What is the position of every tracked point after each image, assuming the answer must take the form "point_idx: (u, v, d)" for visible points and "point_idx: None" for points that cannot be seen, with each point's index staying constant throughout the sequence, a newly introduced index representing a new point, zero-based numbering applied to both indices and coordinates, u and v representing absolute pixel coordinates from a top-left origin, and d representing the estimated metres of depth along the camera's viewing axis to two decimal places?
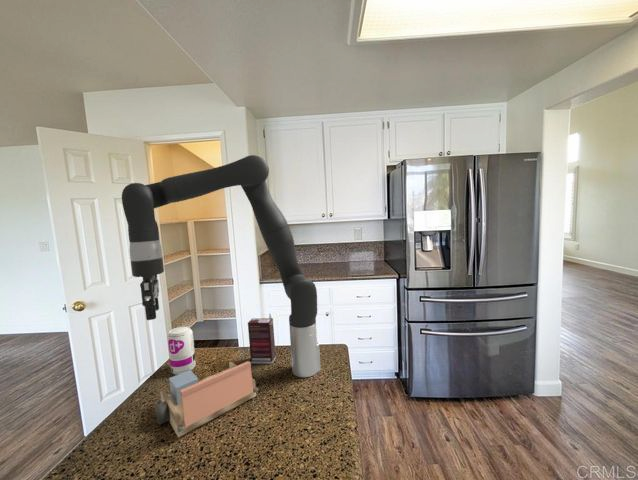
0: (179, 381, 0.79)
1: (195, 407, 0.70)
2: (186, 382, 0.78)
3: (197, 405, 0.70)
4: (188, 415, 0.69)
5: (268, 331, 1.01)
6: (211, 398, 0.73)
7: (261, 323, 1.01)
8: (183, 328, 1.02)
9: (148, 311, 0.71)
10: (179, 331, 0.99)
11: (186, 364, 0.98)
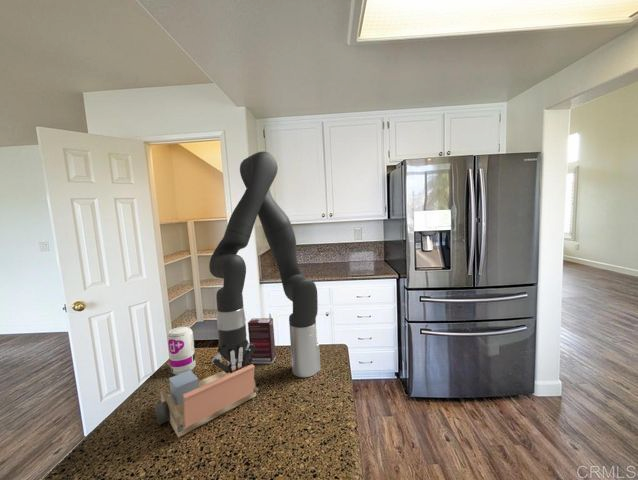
0: (179, 381, 0.79)
1: (196, 410, 0.69)
2: (186, 382, 0.78)
3: (198, 408, 0.70)
4: (189, 417, 0.69)
5: (268, 331, 1.01)
6: (213, 401, 0.72)
7: (261, 323, 1.01)
8: (183, 328, 1.02)
9: None
10: (179, 331, 0.99)
11: (186, 364, 0.98)
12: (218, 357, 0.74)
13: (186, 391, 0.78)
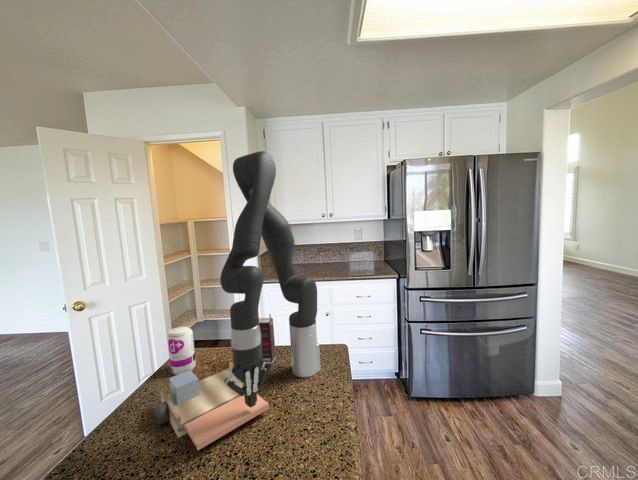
0: (179, 381, 0.79)
1: None
2: (186, 382, 0.78)
3: None
4: None
5: (268, 331, 1.01)
6: None
7: (261, 323, 1.01)
8: (183, 328, 1.02)
9: None
10: (179, 331, 0.99)
11: (186, 364, 0.98)
12: (232, 379, 0.68)
13: (186, 391, 0.78)
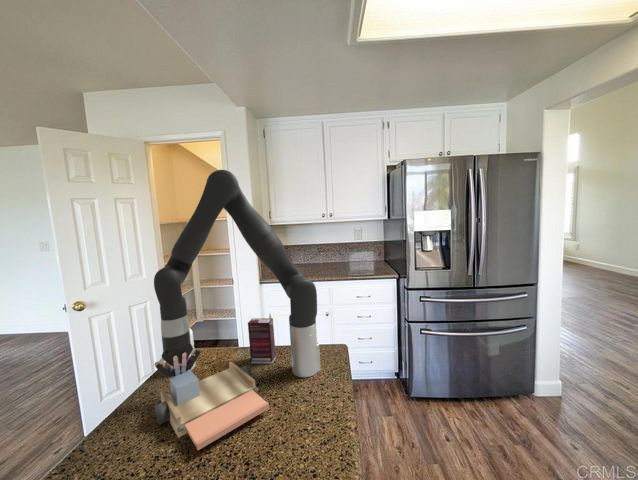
0: (180, 381, 0.79)
1: None
2: (186, 383, 0.78)
3: None
4: None
5: (268, 331, 1.01)
6: None
7: (261, 323, 1.01)
8: None
9: None
10: None
11: None
12: (161, 362, 0.80)
13: (186, 392, 0.78)
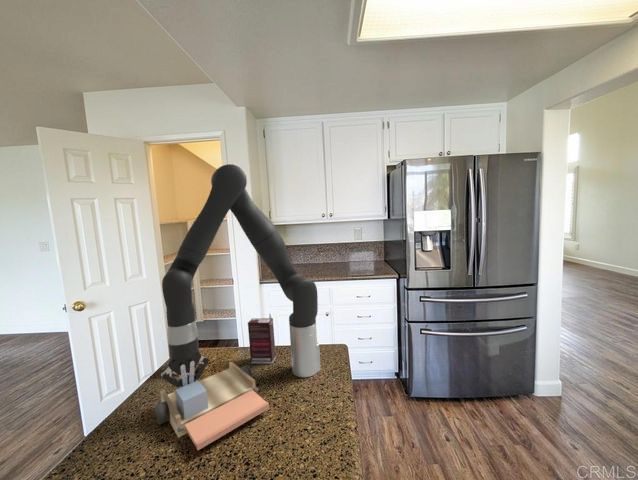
0: (187, 393, 0.73)
1: None
2: (194, 395, 0.72)
3: None
4: None
5: (268, 331, 1.01)
6: None
7: (261, 323, 1.01)
8: None
9: None
10: None
11: None
12: (168, 371, 0.74)
13: (194, 404, 0.72)
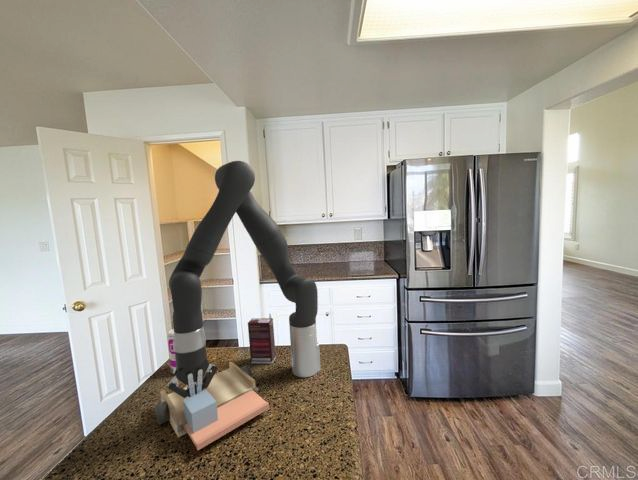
0: (195, 404, 0.69)
1: None
2: (203, 406, 0.68)
3: None
4: None
5: (268, 331, 1.01)
6: None
7: (261, 323, 1.01)
8: None
9: None
10: None
11: None
12: (174, 381, 0.70)
13: (203, 417, 0.67)
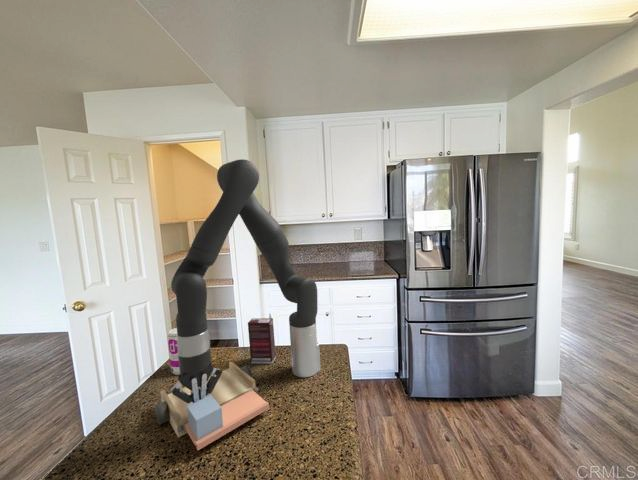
0: (199, 410, 0.66)
1: None
2: (208, 412, 0.66)
3: None
4: None
5: (268, 331, 1.01)
6: None
7: (261, 323, 1.01)
8: None
9: None
10: None
11: None
12: (178, 386, 0.67)
13: (208, 423, 0.65)
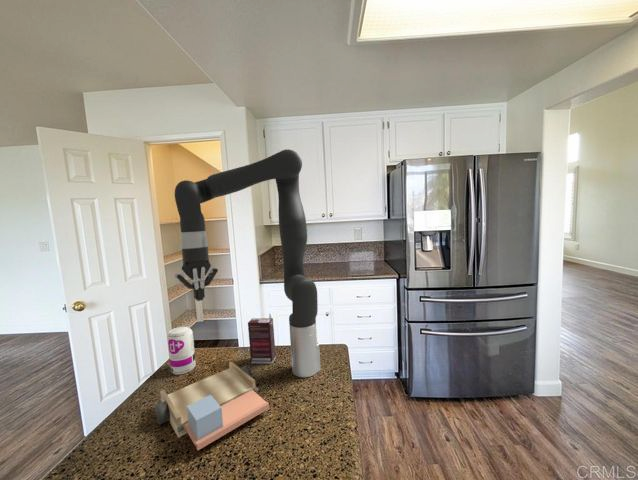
0: (199, 410, 0.66)
1: None
2: (208, 412, 0.66)
3: None
4: None
5: (268, 331, 1.01)
6: None
7: (261, 323, 1.01)
8: (183, 328, 1.02)
9: None
10: (179, 331, 0.99)
11: (186, 364, 0.98)
12: (181, 273, 0.83)
13: (208, 423, 0.65)
